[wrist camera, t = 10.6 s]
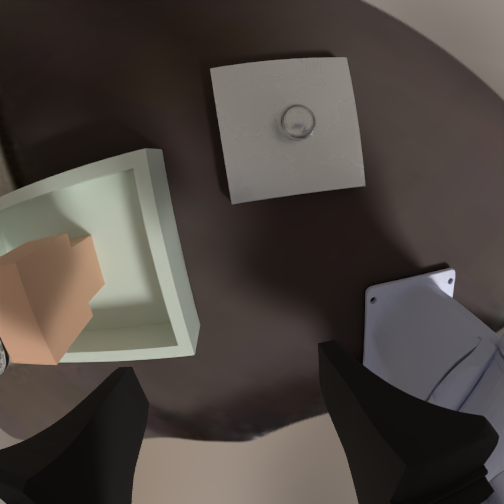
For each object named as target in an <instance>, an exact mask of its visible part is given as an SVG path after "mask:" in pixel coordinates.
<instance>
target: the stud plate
mask: <svg viewBox="0 0 504 504" xmlns="http://www.w3.org/2000/svg"><path fill="white" fill-rule="evenodd" d="M210 72H211V79H212V85H213V92H214V98H215V104H216V111H217V117H218V123H219V129H220V136H221V142H222V148H223V154H224V160H225V166H226V173H227V179H228V185H229V191H230V197H231V203H232V204H237V203H244V202H250V201H256V200H263V199H269V198H276V197H283V196H290V195H297V194H304V193H312V192H319V191H327V190H335V189H343V188H352V187H361V186H365V176H364V166H363V156H362V148H361V140H360V132H359V125H358V118H357V112H356V105H355V99H354V94H353V88H352V83H351V77H350V72H349V67H348V62H347V58H344V57H327V58H297V59H282V60H270V61H260V62H251V63H243V64H236V65H229V66H222V67H216V68H211V69H210Z"/></svg>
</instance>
